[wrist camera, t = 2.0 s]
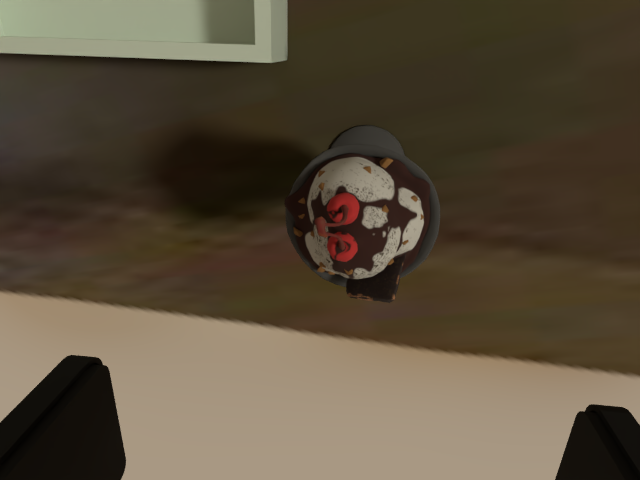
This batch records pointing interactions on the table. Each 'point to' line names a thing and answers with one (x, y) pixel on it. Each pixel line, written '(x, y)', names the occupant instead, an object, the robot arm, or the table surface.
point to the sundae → (363, 214)
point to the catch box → (147, 29)
